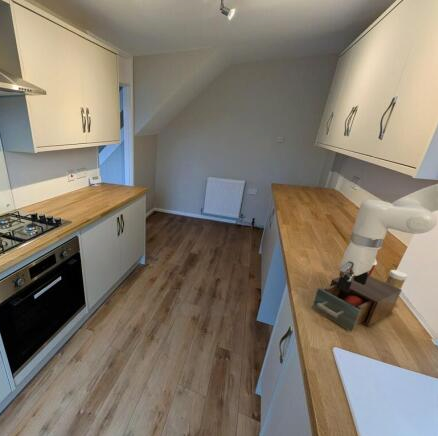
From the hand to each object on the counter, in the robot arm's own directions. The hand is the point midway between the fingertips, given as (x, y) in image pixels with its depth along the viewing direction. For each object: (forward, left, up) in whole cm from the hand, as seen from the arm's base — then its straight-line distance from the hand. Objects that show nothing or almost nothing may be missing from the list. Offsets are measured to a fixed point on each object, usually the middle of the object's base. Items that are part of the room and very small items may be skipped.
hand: (350, 286), depth 80 cm
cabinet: (0, -12, -13) cm, 18 cm away
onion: (0, -1, -9) cm, 9 cm away
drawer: (0, 0, -12) cm, 12 cm away
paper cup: (+8, -27, -14) cm, 31 cm away
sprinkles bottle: (-3, -26, -14) cm, 29 cm away
